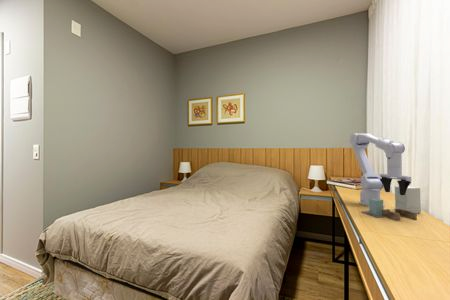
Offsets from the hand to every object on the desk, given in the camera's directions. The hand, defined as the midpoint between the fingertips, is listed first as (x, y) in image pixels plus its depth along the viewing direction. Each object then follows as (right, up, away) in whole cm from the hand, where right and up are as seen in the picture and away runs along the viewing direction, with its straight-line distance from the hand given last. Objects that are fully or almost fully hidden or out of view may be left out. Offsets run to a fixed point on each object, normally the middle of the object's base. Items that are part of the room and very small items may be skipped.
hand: (394, 193), depth 103 cm
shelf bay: (-4, -10, -7) cm, 13 cm away
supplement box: (+10, -10, +4) cm, 14 cm away
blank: (-11, -10, -2) cm, 15 cm away
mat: (-11, -10, -2) cm, 15 cm away
